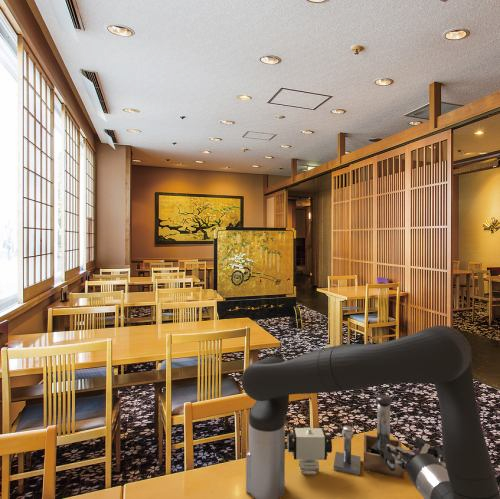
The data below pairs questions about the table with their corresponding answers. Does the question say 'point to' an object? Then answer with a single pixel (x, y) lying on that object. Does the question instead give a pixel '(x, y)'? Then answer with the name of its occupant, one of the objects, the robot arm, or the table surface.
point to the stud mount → (347, 455)
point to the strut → (382, 421)
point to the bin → (379, 458)
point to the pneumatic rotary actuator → (309, 447)
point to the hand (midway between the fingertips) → (399, 439)
